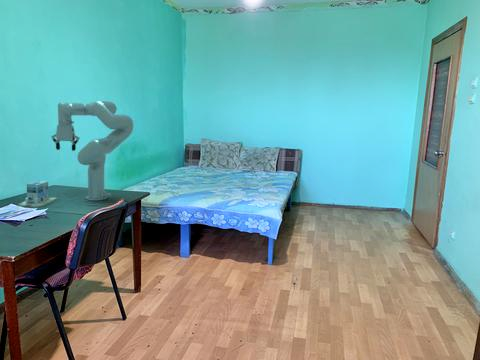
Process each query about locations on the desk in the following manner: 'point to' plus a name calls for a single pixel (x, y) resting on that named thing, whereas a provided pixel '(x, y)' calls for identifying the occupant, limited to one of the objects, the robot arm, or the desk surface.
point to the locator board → (40, 204)
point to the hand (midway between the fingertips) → (65, 150)
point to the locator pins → (28, 201)
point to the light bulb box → (37, 191)
